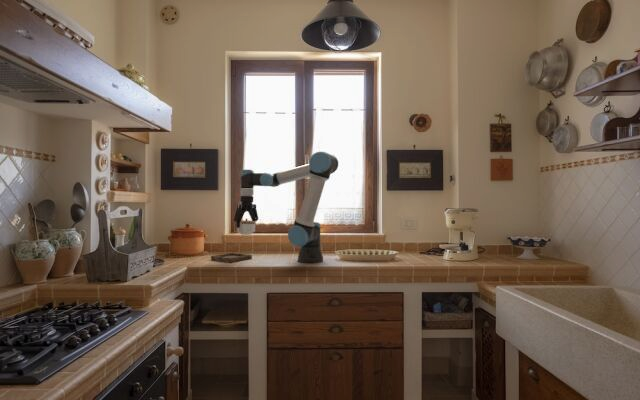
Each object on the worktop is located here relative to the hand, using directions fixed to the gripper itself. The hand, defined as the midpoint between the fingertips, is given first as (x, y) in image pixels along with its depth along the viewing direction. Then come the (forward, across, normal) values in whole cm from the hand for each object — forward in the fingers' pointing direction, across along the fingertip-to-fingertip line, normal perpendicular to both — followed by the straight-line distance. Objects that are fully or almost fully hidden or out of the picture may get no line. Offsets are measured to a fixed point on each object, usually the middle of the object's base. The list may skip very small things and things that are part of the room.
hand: (246, 232), depth 233 cm
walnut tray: (+17, +2, -10) cm, 20 cm away
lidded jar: (+1, 0, 0) cm, 1 cm away
